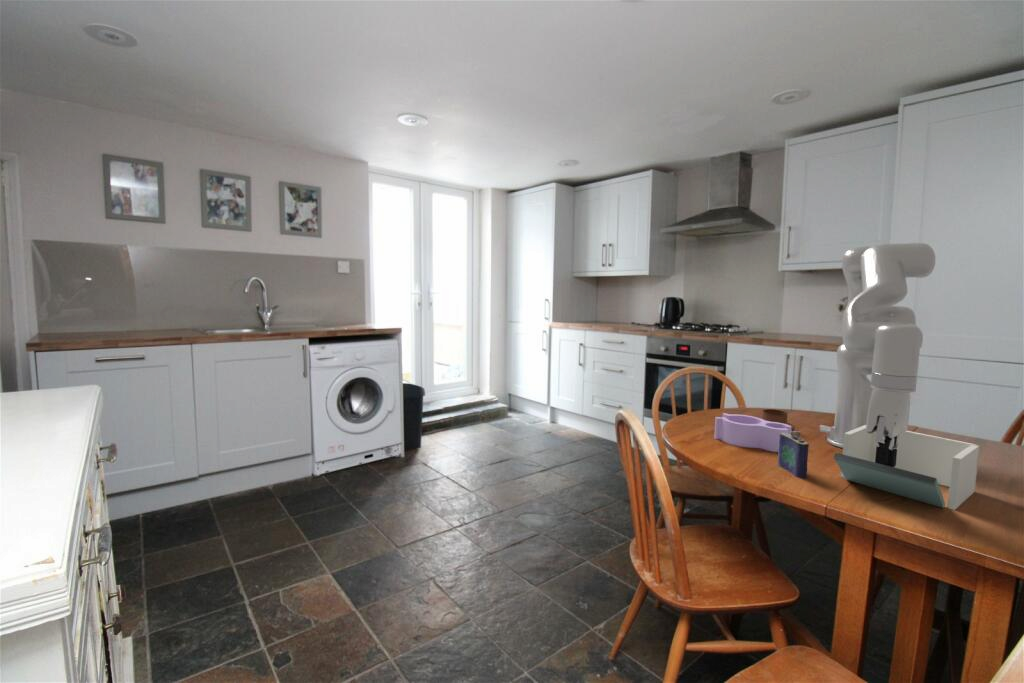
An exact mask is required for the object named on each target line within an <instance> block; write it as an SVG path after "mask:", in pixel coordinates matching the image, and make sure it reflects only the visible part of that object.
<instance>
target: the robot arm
mask: <svg viewBox="0 0 1024 683" xmlns="http://www.w3.org/2000/svg"><path fill="white" fill-rule="evenodd" d="M841 267H842V273H843V276H844V279H845V281H846V284H847V289H848V297H847V306H846V307H845V309H844V312H843V314H842V321H841V324H842V325H841V326H842V331H841V332H842V343H841V344H840V345H839V346H838V348H837V350H836V364H837V365H836V367H837V389H836V402H835V412H834V413H835V414H834V422H833V423H834V424H833V426H828V425H824V424H820V425H819V428H818V430H819V432H820V433H824V434H828V436H827V437H826V442H828V444H830V445H833V446H835V447H838V448H841V449H843V442H844V433H846V432H849V431H851V430H854V429H856V428H859V427H861V426H864V425H866V432H867V433H873V432H875V431H877V433H876V438H875V441H876V442H877V444H876V446H877V447H876V458H875V463H879V464H883V465H886V466H890V467H895V466H896V457H897V449H894V448H897V447H898V440H899V435H900V434H902V433H904V432H906V431H908V426H909V420H910V412H911V411H910V408H911V407H910V406H911V393H916V391H917V382H918V372H919V363H920V362H919V361H920V352H921V348H922V345H923V339H924V338H923V336H924V334H923V331H921V328H920V327H918V326H917V320H916V315H915V312H914V311H913V309H912V308H910V307H907V306H902V305H897V304H898V303H900V302H903V300H904V299H905V298H906V296H907V294H908V285H907V278H916V279H917V278H920V279H921V278H922V279H923V278H926V277H929V276H930V275H931V274H932V273H933V271H934V269H935V267H936V254H935V251H934V249H933V247H932V246H930V245H929V244H928V243H923V242H921V243H920V242H917V243H916V242H913V243H911V242H909V243H884V244H877V245H873V246H859V247H853V248H850V249H848V250H846V251H845V252H844V254H843V255H842V261H841ZM868 375H869V376H870V379H869V378H868V377H867V376H868Z"/></svg>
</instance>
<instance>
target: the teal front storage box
mask: <svg viewBox="0 0 1024 683" xmlns="http://www.w3.org/2000/svg"><path fill="white" fill-rule="evenodd" d="M876 433H877V431H875V432H873V433H867V432H866V425H864V426H861V427H859V428H856V429H854V430H851V431H849V432H846V433H844V442H843V448H842V453H841V454H843V455H847V456H851V457H855V458H859V459H863V460H867V461H871V462H875V458H876V447H877V446H876V444H877V442H876V441H875V438H876ZM980 448H981V444H977V443H970V442H966V441H962V440H961V441H960V440H956V439H951V438H946V437H941V436H935V435H930V434H926V433H921V432H916V431H910V430H906V432H904V433H902V434H900V435H899V440H898V447H897V448H894V449H897V457H896V466H895V467H894V468H898V469H902V470H906V471H910V472H914V473H918V474H922V475H926V476H930V477H934V478H937V482H938V485H939V486H941V485H942V486H945V487H949V489H948V498H947V505H946V506H947V509H950V510H954V511H955V510H956V509H957V508H959V507H960V506H961V505H962V504H963V503H964V502H965V501H966V500H967V499H968V498H970V496H972V495H973V494H974V493H975V490H976V481H977V472H978V464H979V459H980V458H979V457H980V450H981V449H980ZM839 477H840V478H843V479H846V478H845V476H844V475H843V473H842V471H841V470H840V476H839Z"/></svg>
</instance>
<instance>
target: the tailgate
mask: <svg viewBox="0 0 1024 683" xmlns="http://www.w3.org/2000/svg"><path fill="white" fill-rule="evenodd" d="M833 459H834V460H835V462H836V463H837V466H838V467H839V469H840V472H841V471H842V473H843V475H844V476H845V478H844V479H845V480H846V481H849V482H853V483H856V484H860V485H863V486H867V487H870V488H873V489H876V490H880V491H883V492H887V493H891V494H894V495H896V496H901V497H904V498H908V499H911V500H915V501H919V502H922V503H924V504H927V505H928V504H929V505H930V506H931V505H932V506H936V507H939V508H942V509H945V507H946V501H945V499H944V497H943V493H942V490H941V488H940V487H941V486H940V484H938V482H937V478H934V477H930V476H926V475H922V474H918V473H914V472H910V471H906V470H902V469H898V468H894V467H890V466H886V465H883V464H879V463H875V462H871V461H867V460H863V459H859V458H855V457H851V456H847V455H843V454H842V453H838V452H835V453H834V455H833Z"/></svg>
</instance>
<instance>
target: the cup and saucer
mask: <svg viewBox="0 0 1024 683" xmlns="http://www.w3.org/2000/svg"><path fill="white" fill-rule="evenodd" d="M761 416H762V418H761V419H763V420H766V421H770V422H778V423H783V424H787V425H790V426H791V427H792V428H791V431H795V429H796V427H795V425H793V424H792V423H790V422H788V416H789V415H788V412H786V411H785V410H779V409H769V408H767V409H763V410H762V415H761Z"/></svg>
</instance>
